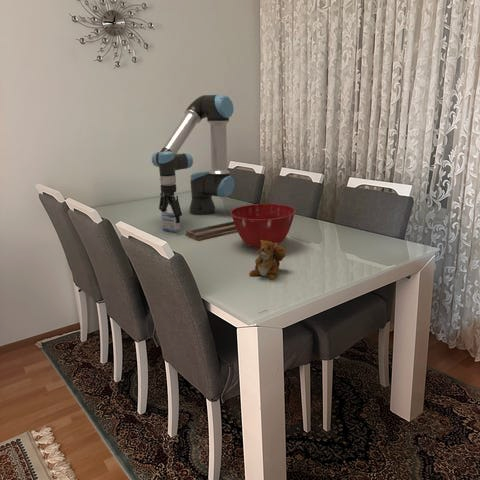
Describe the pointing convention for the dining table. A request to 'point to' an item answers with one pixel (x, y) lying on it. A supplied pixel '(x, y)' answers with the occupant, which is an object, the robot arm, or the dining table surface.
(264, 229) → the mixing bowl
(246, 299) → the dining table surface
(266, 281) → the dining table surface
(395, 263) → the dining table surface
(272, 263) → the stuffed squirrel
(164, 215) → the medicine box
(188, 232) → the tray
